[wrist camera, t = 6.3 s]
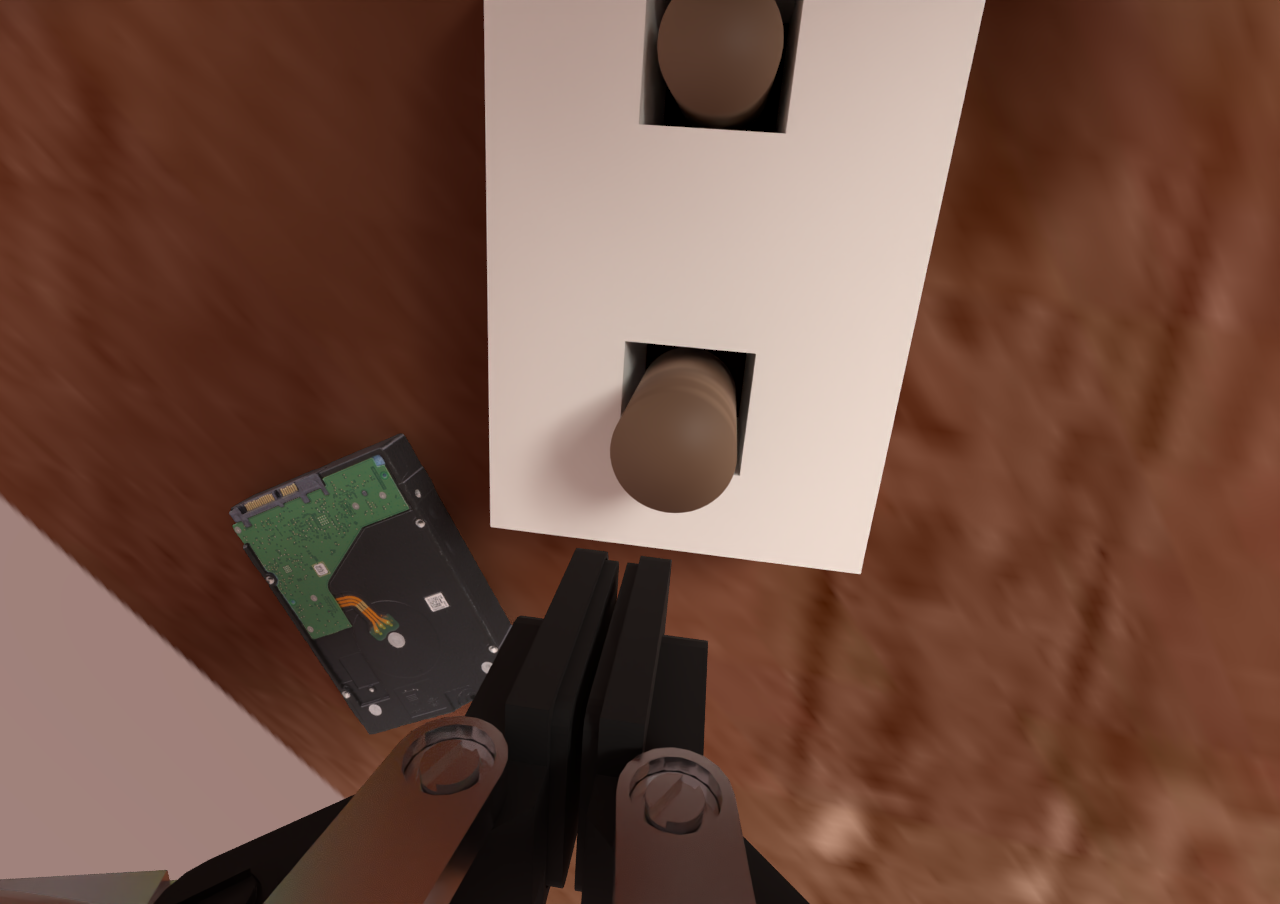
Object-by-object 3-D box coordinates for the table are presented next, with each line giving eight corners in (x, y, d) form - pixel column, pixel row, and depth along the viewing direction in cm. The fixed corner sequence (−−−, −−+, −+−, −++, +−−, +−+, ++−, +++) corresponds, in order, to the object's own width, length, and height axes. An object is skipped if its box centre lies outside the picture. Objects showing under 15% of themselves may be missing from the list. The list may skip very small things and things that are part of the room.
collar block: (944, -82, 23) (1028, -199, 16) (833, 496, 30) (860, 574, 24) (549, -94, 24) (481, -206, 18) (540, 462, 32) (490, 526, 25)
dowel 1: (777, 31, 24) (792, -29, 18) (764, 139, 25) (774, 117, 19) (680, 27, 24) (662, -34, 18) (671, 133, 26) (652, 110, 20)
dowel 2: (741, 352, 24) (744, 400, 18) (729, 445, 25) (729, 520, 19) (643, 342, 24) (613, 387, 18) (636, 434, 25) (606, 505, 19)
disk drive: (541, 657, 37) (405, 425, 33) (527, 692, 34) (377, 444, 30) (393, 704, 39) (250, 494, 35) (369, 739, 37) (212, 518, 33)
